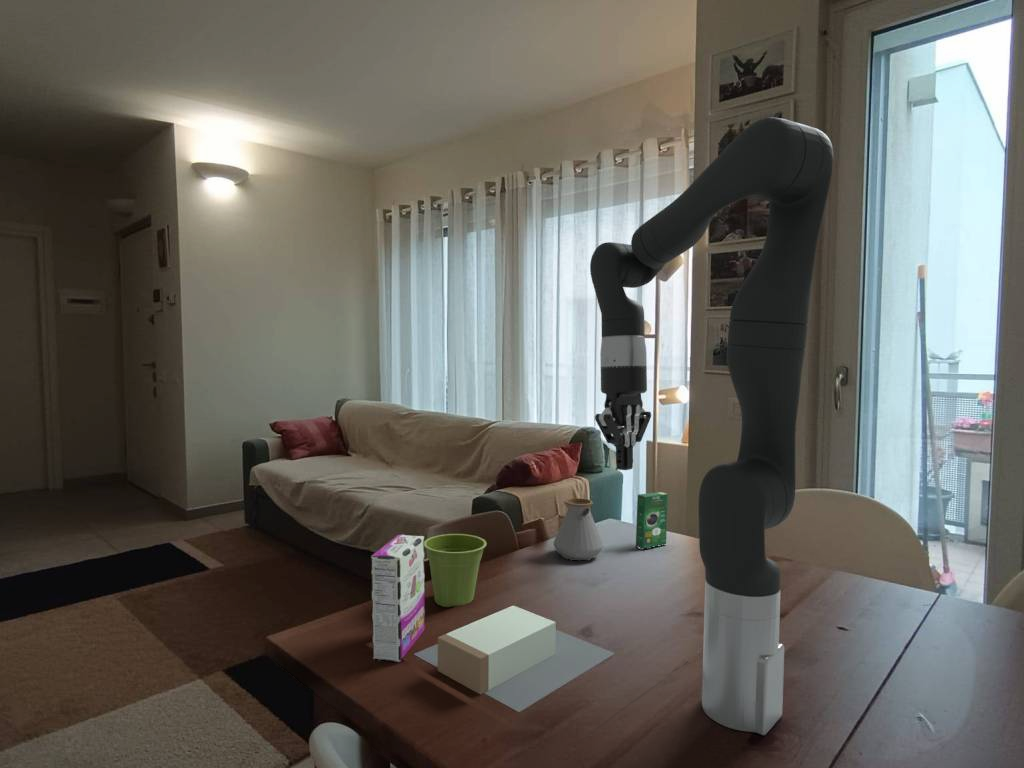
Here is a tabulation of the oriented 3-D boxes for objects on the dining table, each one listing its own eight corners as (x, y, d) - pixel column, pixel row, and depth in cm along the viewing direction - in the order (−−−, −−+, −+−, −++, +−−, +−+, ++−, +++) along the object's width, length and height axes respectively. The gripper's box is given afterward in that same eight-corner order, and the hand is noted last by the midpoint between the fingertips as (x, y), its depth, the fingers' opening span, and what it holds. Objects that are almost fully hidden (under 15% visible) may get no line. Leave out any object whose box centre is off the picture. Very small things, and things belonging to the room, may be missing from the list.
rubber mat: (615, 657, 96) (615, 653, 96) (518, 716, 80) (518, 712, 80) (511, 614, 111) (511, 611, 111) (413, 658, 95) (413, 654, 95)
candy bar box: (397, 628, 105) (397, 533, 104) (425, 631, 104) (426, 535, 103) (369, 660, 94) (369, 554, 93) (400, 664, 93) (400, 556, 92)
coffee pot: (551, 548, 150) (552, 486, 149) (599, 548, 150) (600, 487, 149) (558, 580, 128) (559, 508, 128) (614, 580, 128) (615, 509, 128)
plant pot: (471, 618, 110) (472, 555, 109) (411, 608, 113) (412, 548, 113) (495, 593, 121) (495, 536, 120) (439, 586, 125) (440, 530, 124)
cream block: (555, 622, 95) (480, 658, 84) (555, 653, 96) (480, 694, 84) (513, 605, 102) (437, 637, 90) (512, 635, 102) (437, 670, 90)
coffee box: (658, 542, 155) (660, 490, 154) (667, 545, 153) (668, 492, 152) (634, 547, 151) (635, 494, 150) (643, 550, 148) (644, 496, 148)
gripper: (617, 363, 95) (619, 475, 95) (665, 364, 104) (666, 467, 104) (580, 364, 101) (581, 471, 101) (628, 366, 110) (629, 463, 110)
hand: (624, 469), depth 102 cm, fingers closed
